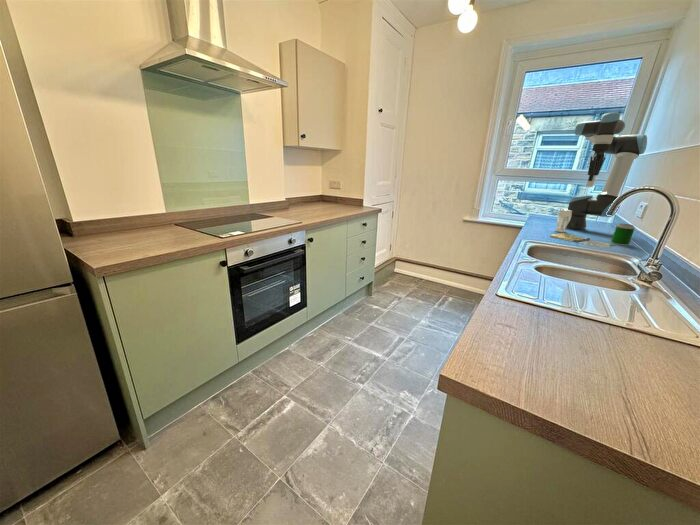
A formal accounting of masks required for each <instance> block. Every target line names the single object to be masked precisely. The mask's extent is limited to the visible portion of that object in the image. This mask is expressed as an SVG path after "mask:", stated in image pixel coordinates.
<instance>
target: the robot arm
mask: <svg viewBox="0 0 700 525" xmlns="http://www.w3.org/2000/svg"><path fill="white" fill-rule="evenodd" d="M620 117H621V113H619V112H608V113H604V114H603V115H602V116H601V119H600V120H591V121H582V122H578V123H577V124H576V125H575V129H574V135H575V136H576V137H577V136H583V137H585V138H586V139H587V140H588V141H589V142H591V143H592V144H593V146H592V149H591V151H592V152H594V153H593V155H592V156H590V158H589V161H590V162H589V166H588V170H587V176H588V179H587V180H586V186H585V187H586V188H587V187H588V188H593V187H594V184H595V180H596V177H597V176H599V174H600V172H601V169H602V166H603V164H604V163H605V161H606V157H605V154H608V155H614V157H615V161H614V164H613V166H612V168H611V170H610V172H609V175H608V177H607V180H606V181H605V184H604V187H603V188H602V191H601V192H600V193H598V194H597V196H596V197H593V195H587V194H586V195H573V196H572V197H570V200H569V203H568V207H567V210H572V216H571V219H570V221H569V223H568V225H567V227H566V229H569V230H579V231H583V230H586V229H587V215H588V216H595V217H601V218H611V217H612V218H613V216H614V215H616V214H617V212H618V211H619V209H620V207H621V205H620V206H619V207H618V209H617V210H616V212H615V213H614V214H613V215H612V216H607V215H606V212H607V211H608V209H609V207H610V206H611V204H612V203H613V201H614V200H615V199H616V198H617V197H618V196H619V194H620V191H621V189H622V187H623V184H624V182H625V180H626V179H627V176H628V173H629V171H630V169H631V167H632V164H633V162H634V160H636V159H638V158H639V156H640V155H642V154H644V153H645V151H646V149H647V145H648V136H647V135H646V134H624V135H623V134H622V135H620V133H622V132H623V131H624V129H625V128H626V123H625V122H624V120H621V119H620ZM618 134H619V135H618Z"/></svg>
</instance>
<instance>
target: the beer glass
mask: <svg viewBox="0 0 700 525" xmlns="http://www.w3.org/2000/svg"><path fill="white" fill-rule="evenodd" d="M571 216H572V210H568V209H562V208H561V209H559V212H558V215H557V217H556V218H557V219H556V220H557V221H556V227H555V230H554V232H555V231H556V232H560V233H567V232H566V230H567V228H566V227H567V225H568V223H569V221H570V219H571Z"/></svg>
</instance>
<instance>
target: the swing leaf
mask: <svg viewBox="0 0 700 525" xmlns="http://www.w3.org/2000/svg"><path fill="white" fill-rule="evenodd" d="M549 237H550V238H553V239H557V240H558V239H559V240H564V241H568V242H573V243H577V244H579V242H582V240H580V239H585V240H586V241H589V240H591V238H590V237H582V236H578V235H574V234H571V233H567V232H560V233H554V234H553V233H551V234H549Z"/></svg>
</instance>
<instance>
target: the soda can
mask: <svg viewBox="0 0 700 525" xmlns="http://www.w3.org/2000/svg"><path fill="white" fill-rule="evenodd" d="M634 231H635V226H634V225H633V224H628V223H619V224H616V227H615V229H614V233H613V235H612V237H611V241H610V244H613V245H617V246H618V245H619V246H629V244H630V242H631V240H632V236H633V234H634Z"/></svg>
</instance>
